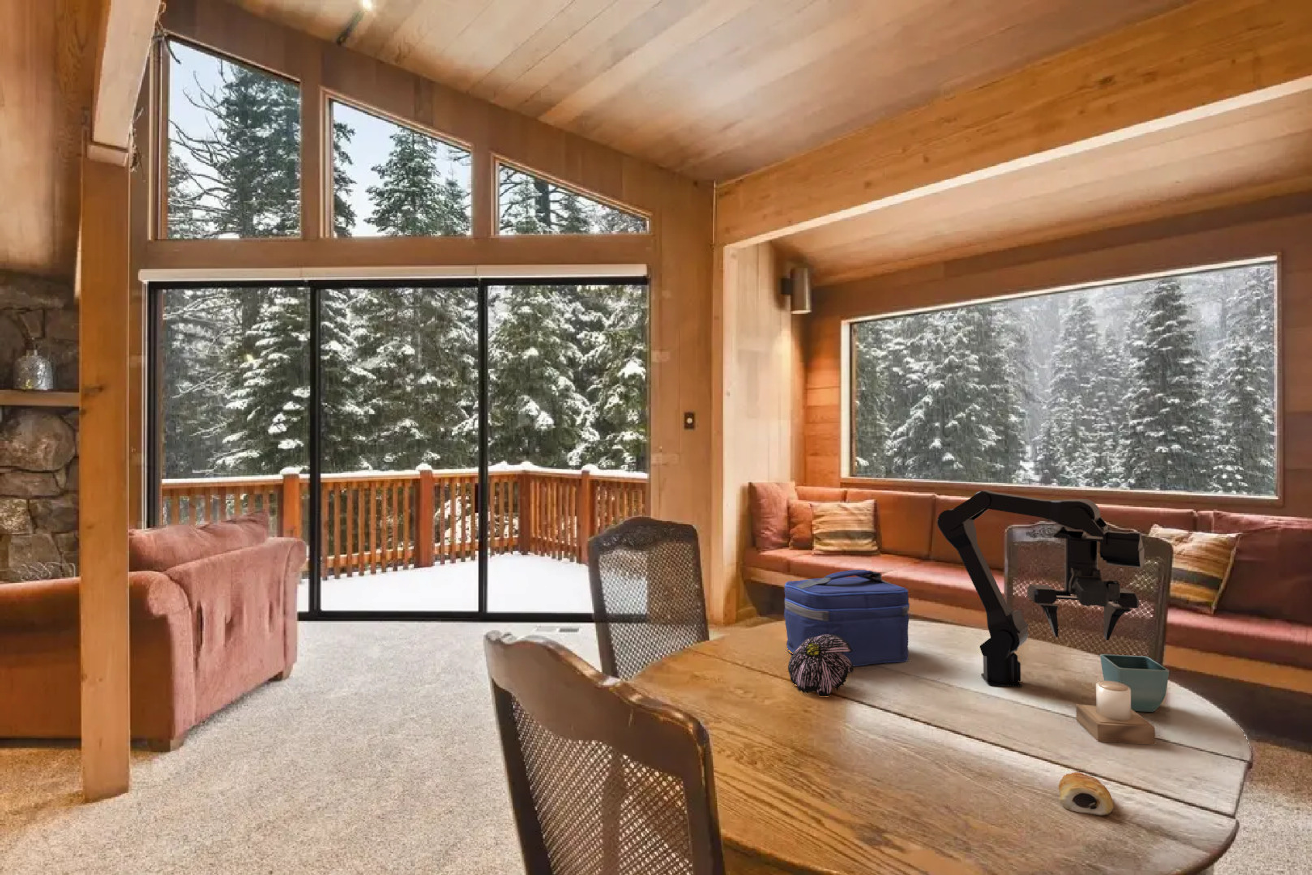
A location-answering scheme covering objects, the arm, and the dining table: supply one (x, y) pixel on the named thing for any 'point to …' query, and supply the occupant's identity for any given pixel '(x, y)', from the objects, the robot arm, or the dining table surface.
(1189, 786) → the dining table surface
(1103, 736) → the stand
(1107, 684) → the jar
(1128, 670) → the flower pot
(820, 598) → the lunch bag
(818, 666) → the decorative flower
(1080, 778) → the pastry
